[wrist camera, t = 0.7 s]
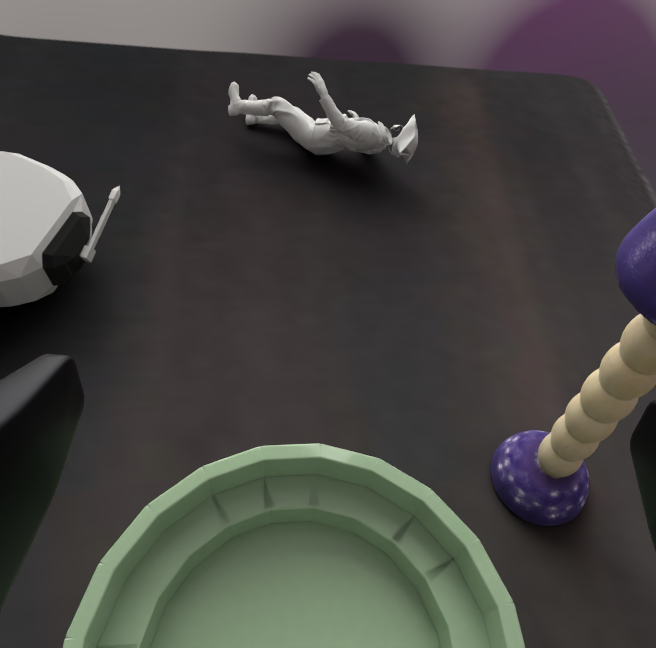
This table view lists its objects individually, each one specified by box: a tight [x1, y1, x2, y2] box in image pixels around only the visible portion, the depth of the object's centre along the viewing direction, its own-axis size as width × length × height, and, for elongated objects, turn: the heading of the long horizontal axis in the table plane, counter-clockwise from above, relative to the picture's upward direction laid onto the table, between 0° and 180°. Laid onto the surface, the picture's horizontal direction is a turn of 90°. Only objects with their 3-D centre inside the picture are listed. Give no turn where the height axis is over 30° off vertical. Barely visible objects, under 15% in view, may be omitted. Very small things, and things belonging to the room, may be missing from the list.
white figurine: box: [228, 72, 418, 164], centre depth 37 cm, size 8×5×12 cm
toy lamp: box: [490, 208, 656, 526], centre depth 19 cm, size 5×5×17 cm
